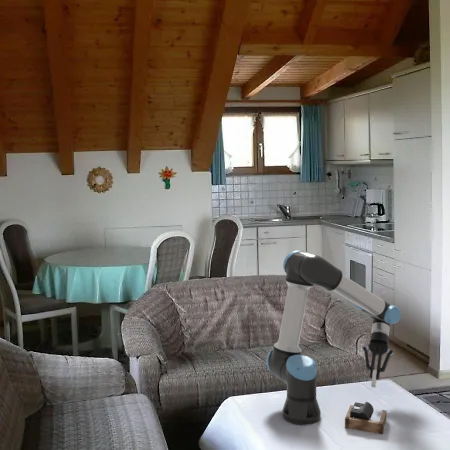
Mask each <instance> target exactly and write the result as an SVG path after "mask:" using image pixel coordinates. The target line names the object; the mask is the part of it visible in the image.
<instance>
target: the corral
mask: <svg viewBox="0 0 450 450" xmlns="http://www.w3.org/2000/svg"><path fill="white" fill-rule="evenodd" d="M352 408H355V406H354V404H352V405H349V407H348V410H347V412H346V415H345V418H344V429H348V430H353V431H359V432H360V431H361V432H365V433H372V434H376V435H377V434H379V435H383V434H384V430H385V426H386V423H387V409H386V410H385V409H382V412H381V415H380V419H379V421H377V420H371V419H370V420H365V419H358V418H354V416H350V411H351V409H352Z"/></svg>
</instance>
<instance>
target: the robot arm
mask: <svg viewBox="0 0 450 450" xmlns="http://www.w3.org/2000/svg"><path fill="white" fill-rule="evenodd" d="M282 266H283V267H282V268H283V270H284V273H285V274H286V276H285V283H286V284H287V291H286V296H285V301H284V302H285V303H284V308H283V311H282V313H283V314H282V318H281V324H280V330H279V336H278V341H277V342H274V344H273V347H272V349H271V350H269V351H268V353H267V354H266V355H267V356H266V358H265V359H266V361H265V362H266V367H267V369H268V371H269V372H270V373H271V374H272V375H273V376H274V377H275V378H278V379H279V380H280V381H282V383H284V384H286V398H285V403H284V404H283V407H282V418H283V419H284V420H285V421H287V422H289V423H290V424H295V425H300V426H303V425H305V426H306V425H312V424H316V423H318V422H319V421H320V420H321V416H322V415H321V413H322V412H321V408H320V405H319V402H318V398H317V375H318V370H317V364H316V362H315V360H314V359H313V358H311V357H310V356H307V355H303V354H302V348H301V347H300V345H299V344H300V339H301V335H302V329H303V325H304V324H303V323H304V318H305V311H306V307H307V301H308V295H309V290H310V289H312V288H313V287H314V285H315V286H318V287H320V288H323V289H325V290H327V291H328V292H335V293H336V294H338V296H339V295H340V296H341V297H343V298H344V299H346V300H348V301H350V302H351V303H353V304H354V306H355V307H356V308H357V309H358V310H359V311H361V312H362V313H363V314H365V315H366V316H368V317H369V318H370V319H372V325H371V334H370V338H369V343H368V345H367V346H363V347H362V351H363V352H364V356H365V357H364V358H365V364H366V370H368V371H369V378H370V379H371V388H377V387H376V385H377V380H380V375H381V373H385V371H386V369H387V368H388V367H387V366H388V364H389V362H390V359H391V357H392V356H393V355H394V351H393V350H392V349H390V348H389V336H390V327H391V324H392V325H394V324H397V323H398V322H399V321H400V320H401V317H402V312H401V310H400V309H401V308H399V307H398V306H395V305H394V304H390V303H389V302H388V301H386V300H384V299H382V298H381V297H379V296H377V295H376V294H375V293H373V292H371V291H370V290H368V289H366V288H365V287H363V286H362V285H360V284H358V283H357V282H355V281H354V280H352V279H350V278H349V277H347V276H346V275H345V274H344V273H343V271H342V270H341V269H340V268H338V267H336V266H335V265H334V264H332V263H331V262H329V261H328V260H327V259H326V258H323V257H321V256H320V255H317V254H313V253H311V252H308V251H305V250H297V249H296V250H293V251H291V252H290V253H288V254H287V255H286V256H285V258H284V260H283V265H282ZM369 351H370V352H371V355H372V357H371V364H370V361H369V359H370V358H369V353H368V352H369ZM385 354H386V356H385V358H384V361H383V363H382V359H383V356H384V355H385ZM377 356H378V359H377V365H376V358H377ZM375 366H376V369H375Z"/></svg>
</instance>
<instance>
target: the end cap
mask: <svg viewBox="0 0 450 450" xmlns="http://www.w3.org/2000/svg"><path fill="white" fill-rule="evenodd" d="M353 406H354V408H352V409H351V411H350V416H354V417H353V418H358V419H365V420H371V418H372V417H373V414H374V411H375V409H374V406H373V405H372V404H371V403H370V402H368V401H366V402H364V403H362V402H357V401H356V402H354V404H353ZM356 407H357V408H356Z"/></svg>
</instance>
